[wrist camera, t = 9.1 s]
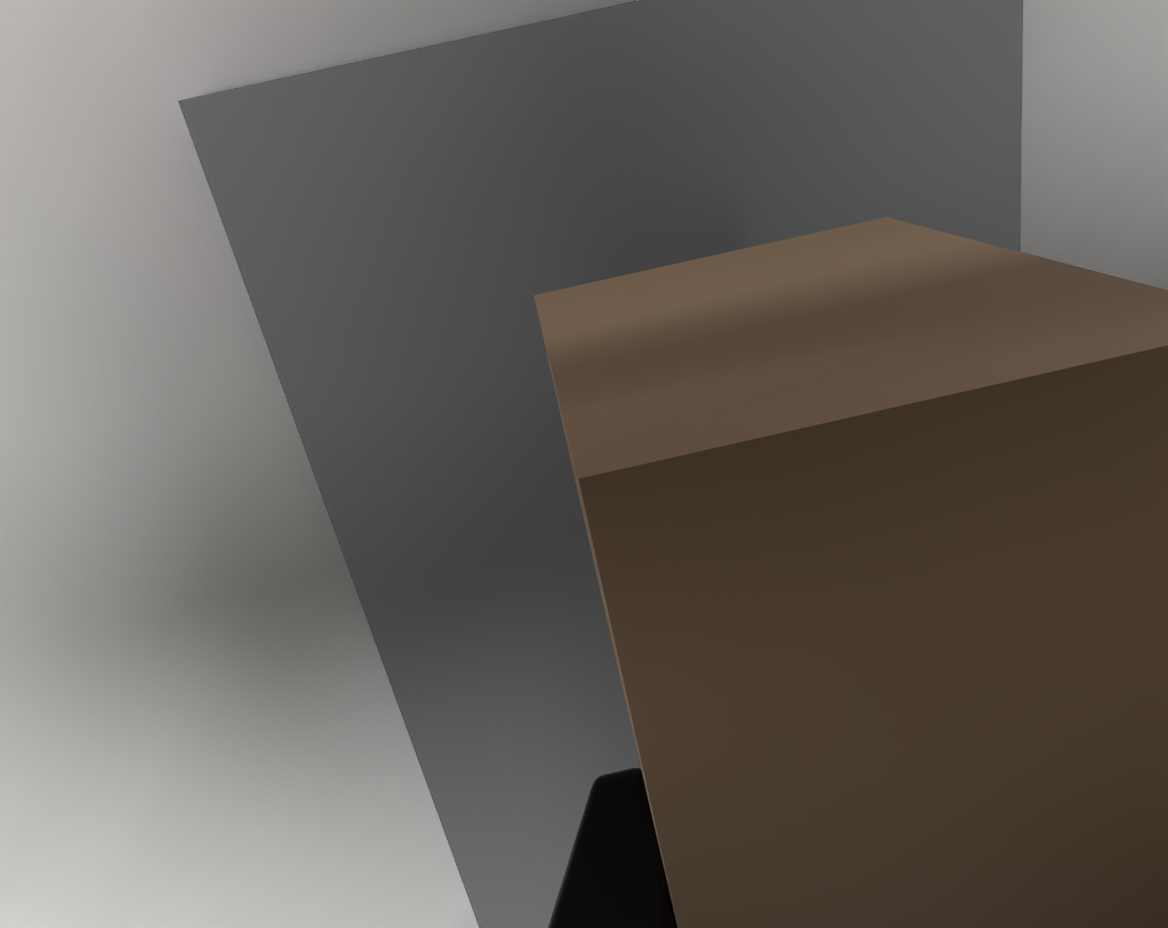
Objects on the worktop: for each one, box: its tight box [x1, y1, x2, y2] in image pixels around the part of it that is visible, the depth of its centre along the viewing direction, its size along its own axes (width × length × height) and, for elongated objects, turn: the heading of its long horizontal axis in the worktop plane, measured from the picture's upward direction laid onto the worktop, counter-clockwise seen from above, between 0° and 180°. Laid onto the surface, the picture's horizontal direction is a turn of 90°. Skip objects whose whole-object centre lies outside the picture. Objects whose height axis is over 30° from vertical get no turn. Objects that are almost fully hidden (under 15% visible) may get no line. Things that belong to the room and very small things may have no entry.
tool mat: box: [178, 0, 1023, 928], centre depth 15 cm, size 9×23×1 cm, turn 11°
